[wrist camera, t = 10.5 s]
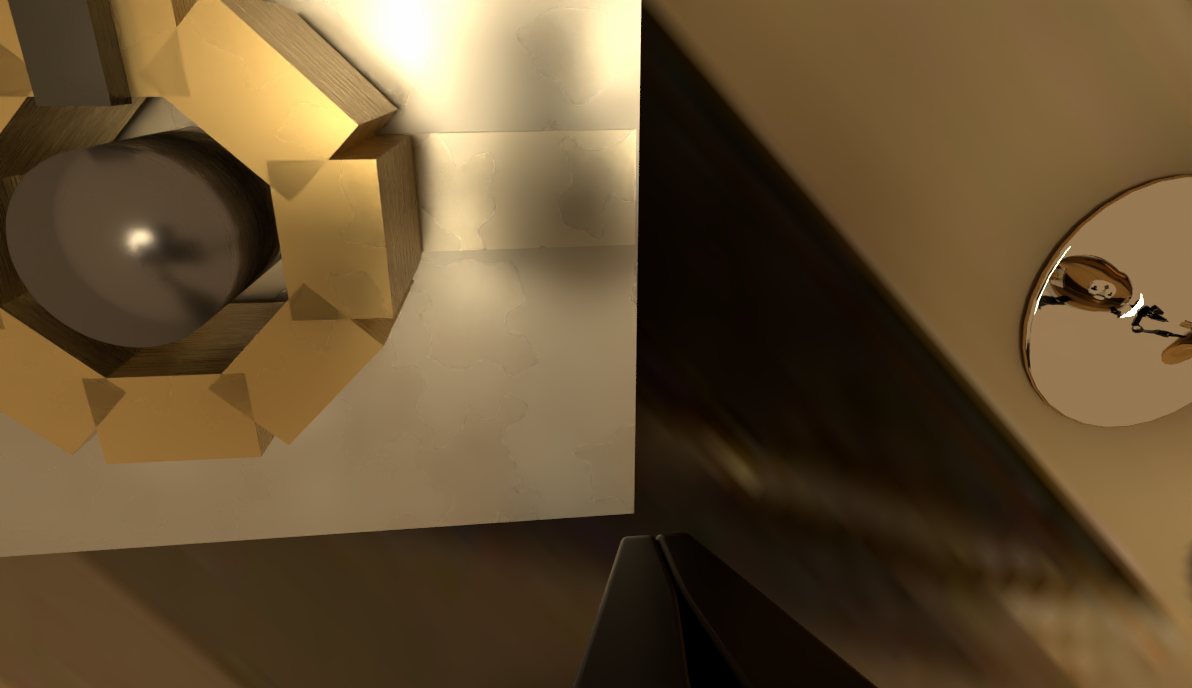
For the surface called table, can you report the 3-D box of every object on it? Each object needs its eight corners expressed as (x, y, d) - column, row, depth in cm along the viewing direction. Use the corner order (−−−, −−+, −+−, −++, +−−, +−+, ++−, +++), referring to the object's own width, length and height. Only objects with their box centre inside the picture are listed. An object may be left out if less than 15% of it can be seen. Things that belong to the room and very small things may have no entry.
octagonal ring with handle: (353, -510, 11) (254, -852, 7) (431, 365, 17) (402, 466, 13) (-198, -554, 11) (-680, -968, 6) (77, 377, 16) (-79, 490, 12)
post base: (627, 488, 21) (667, 644, 15) (-30, 532, 19) (-252, 723, 14) (635, -279, 14) (711, -499, 9) (-377, -315, 12) (-1094, -615, 7)
